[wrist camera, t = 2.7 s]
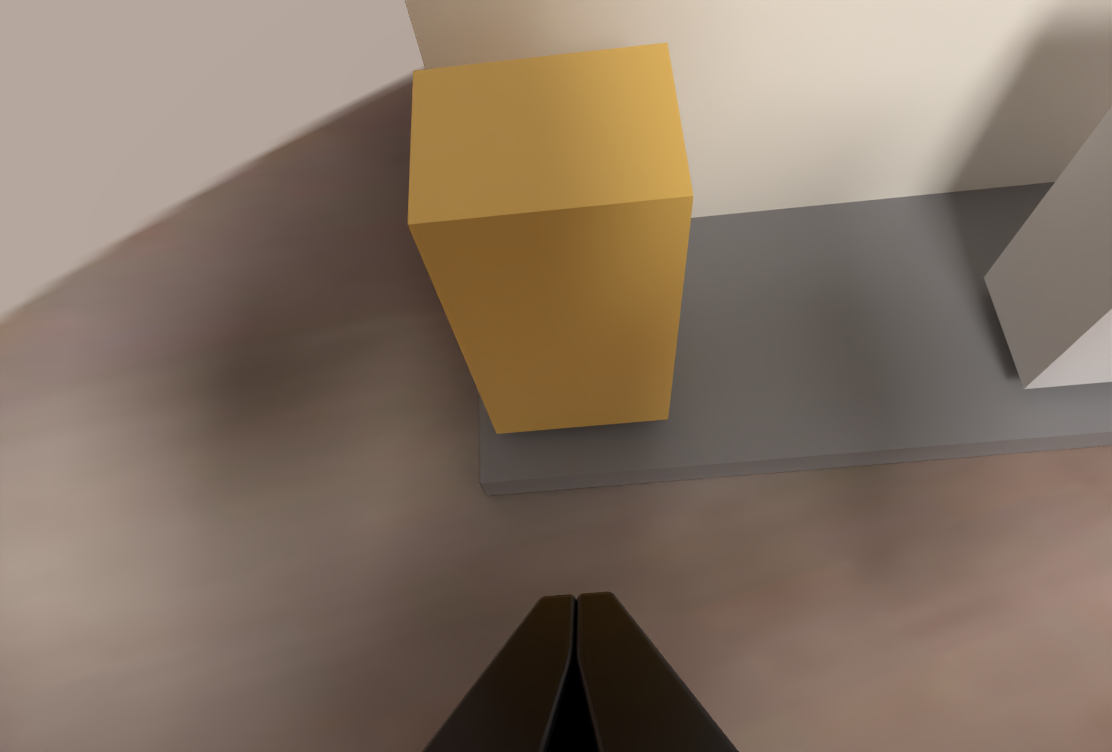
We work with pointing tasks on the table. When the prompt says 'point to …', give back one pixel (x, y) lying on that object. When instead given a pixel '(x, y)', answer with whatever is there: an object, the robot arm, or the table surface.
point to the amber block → (556, 230)
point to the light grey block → (1062, 276)
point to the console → (829, 226)
